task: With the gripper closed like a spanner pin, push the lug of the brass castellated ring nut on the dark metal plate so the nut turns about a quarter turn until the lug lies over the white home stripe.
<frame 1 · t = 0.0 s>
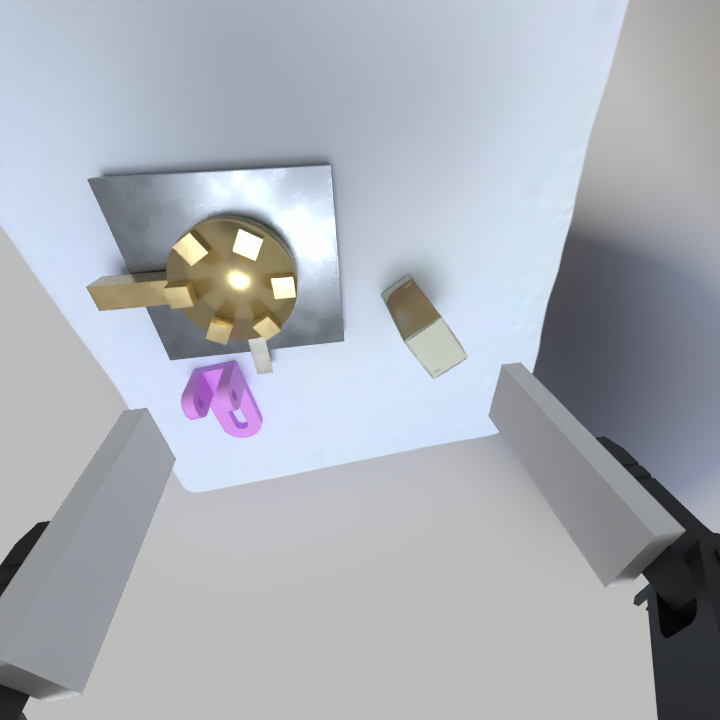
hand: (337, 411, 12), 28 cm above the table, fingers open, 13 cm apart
bracket: (233, 399, 47), on the table
ring nut: (199, 287, 32), point 5 cm above the table, hinge at 0.0°
skincare box: (405, 300, 41), on the table
base plate: (243, 267, 36), on the table
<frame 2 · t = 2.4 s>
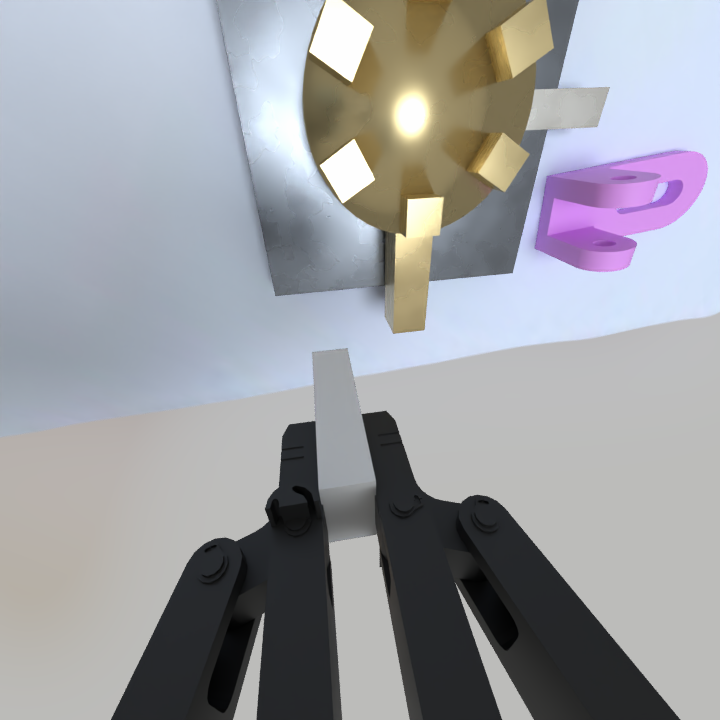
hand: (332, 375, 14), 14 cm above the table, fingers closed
bracket: (611, 198, 27), on the table
ring nut: (413, 186, 19), point 5 cm above the table, hinge at 0.0°
base plate: (394, 117, 21), on the table
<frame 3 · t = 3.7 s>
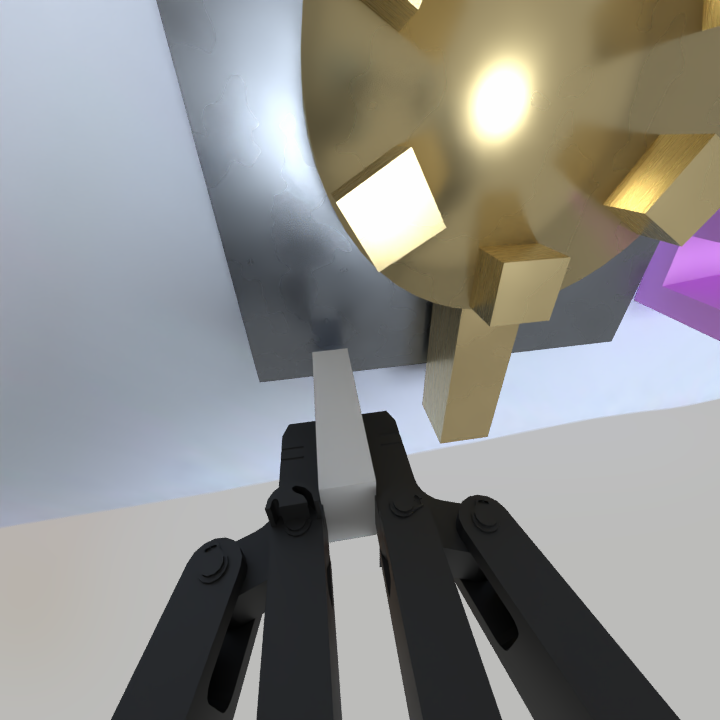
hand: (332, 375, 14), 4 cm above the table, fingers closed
ring nut: (499, 230, 11), point 5 cm above the table, hinge at 0.0°
base plate: (454, 108, 13), on the table
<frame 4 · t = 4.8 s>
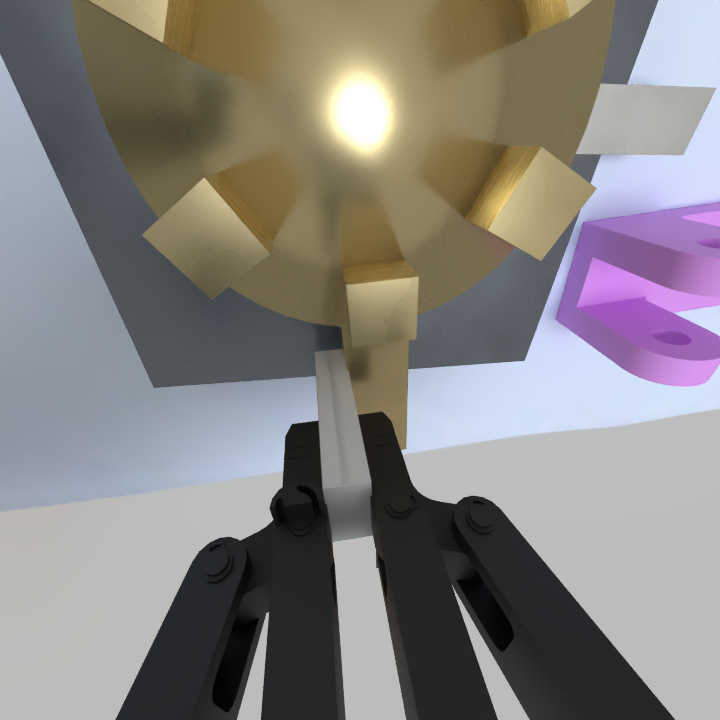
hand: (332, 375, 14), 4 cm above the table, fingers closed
bracket: (672, 256, 18), on the table
ring nut: (369, 246, 10), point 5 cm above the table, hinge at 4.7°, touching gripper
base plate: (343, 118, 12), on the table
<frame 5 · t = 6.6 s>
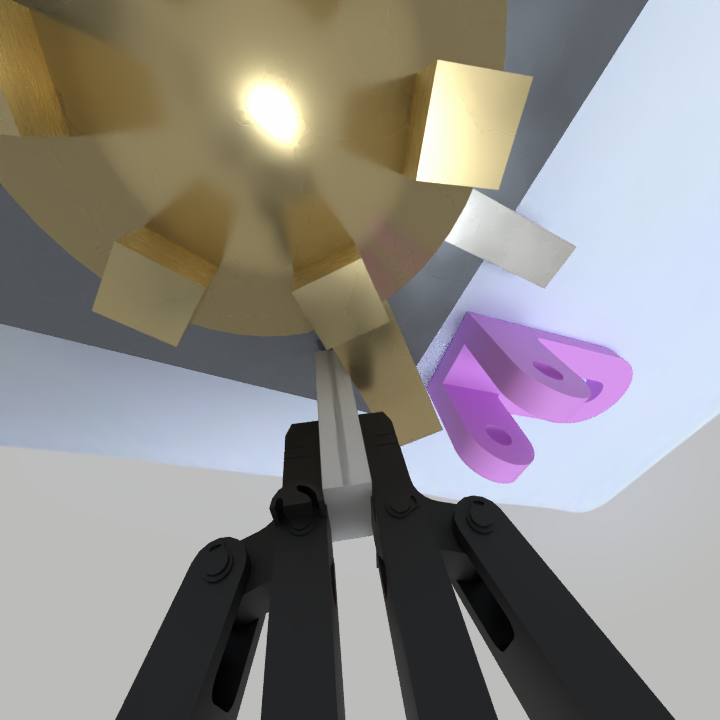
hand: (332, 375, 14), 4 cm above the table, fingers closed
bracket: (529, 368, 21), on the table
ring nut: (318, 241, 10), point 5 cm above the table, hinge at 48.1°, touching gripper
base plate: (271, 118, 12), on the table
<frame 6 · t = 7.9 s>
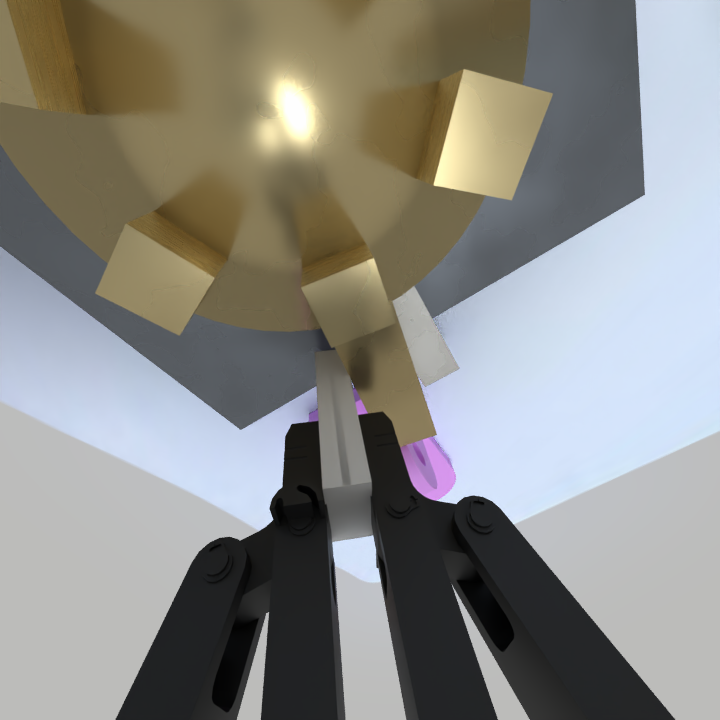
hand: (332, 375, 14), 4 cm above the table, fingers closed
bracket: (392, 443, 24), on the table
ring nut: (328, 239, 10), point 5 cm above the table, hinge at 78.5°, touching gripper
base plate: (285, 114, 12), on the table
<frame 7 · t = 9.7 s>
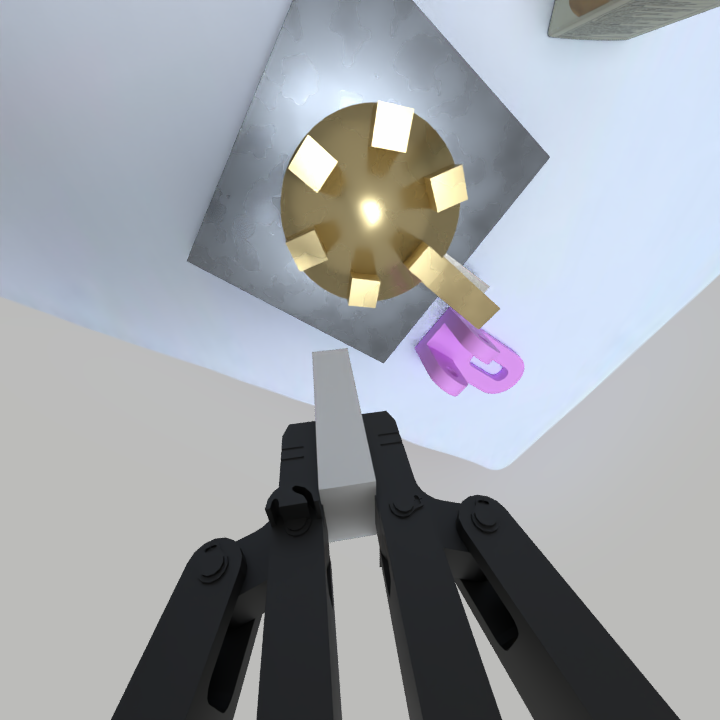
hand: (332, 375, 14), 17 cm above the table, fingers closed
bracket: (472, 353, 36), on the table
ring nut: (407, 247, 23), point 5 cm above the table, hinge at 85.3°
base plate: (361, 205, 26), on the table
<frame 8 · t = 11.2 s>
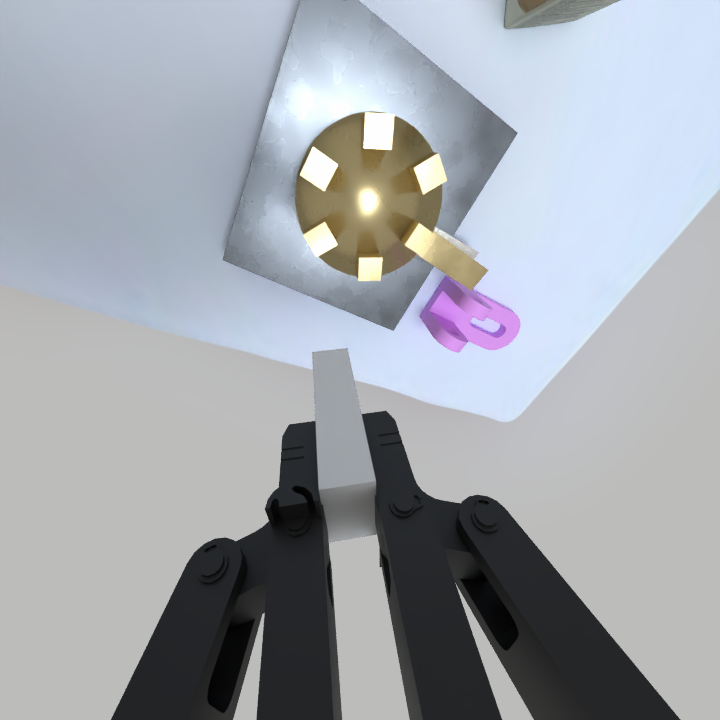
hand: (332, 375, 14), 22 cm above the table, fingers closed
bracket: (471, 315, 41), on the table
ring nut: (402, 226, 28), point 5 cm above the table, hinge at 85.3°
base plate: (360, 195, 31), on the table
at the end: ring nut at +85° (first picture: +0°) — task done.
